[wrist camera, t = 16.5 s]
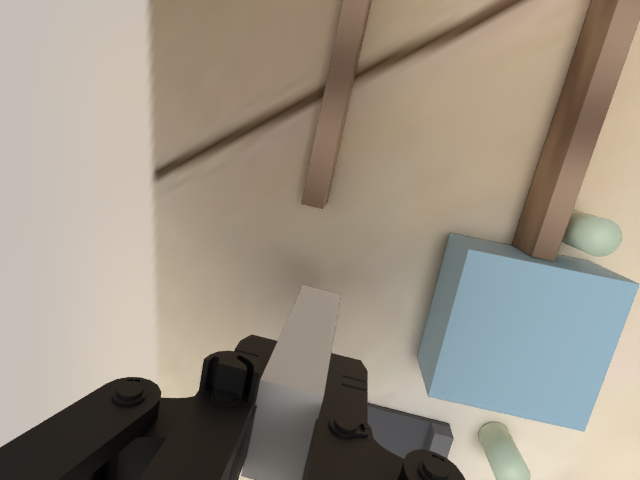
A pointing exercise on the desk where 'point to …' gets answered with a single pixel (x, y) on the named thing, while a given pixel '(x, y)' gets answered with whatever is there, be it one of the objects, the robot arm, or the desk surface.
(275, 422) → the robot arm
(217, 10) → the desk surface
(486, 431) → the goal posts
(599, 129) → the parallel brown rails
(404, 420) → the tray
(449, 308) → the block
